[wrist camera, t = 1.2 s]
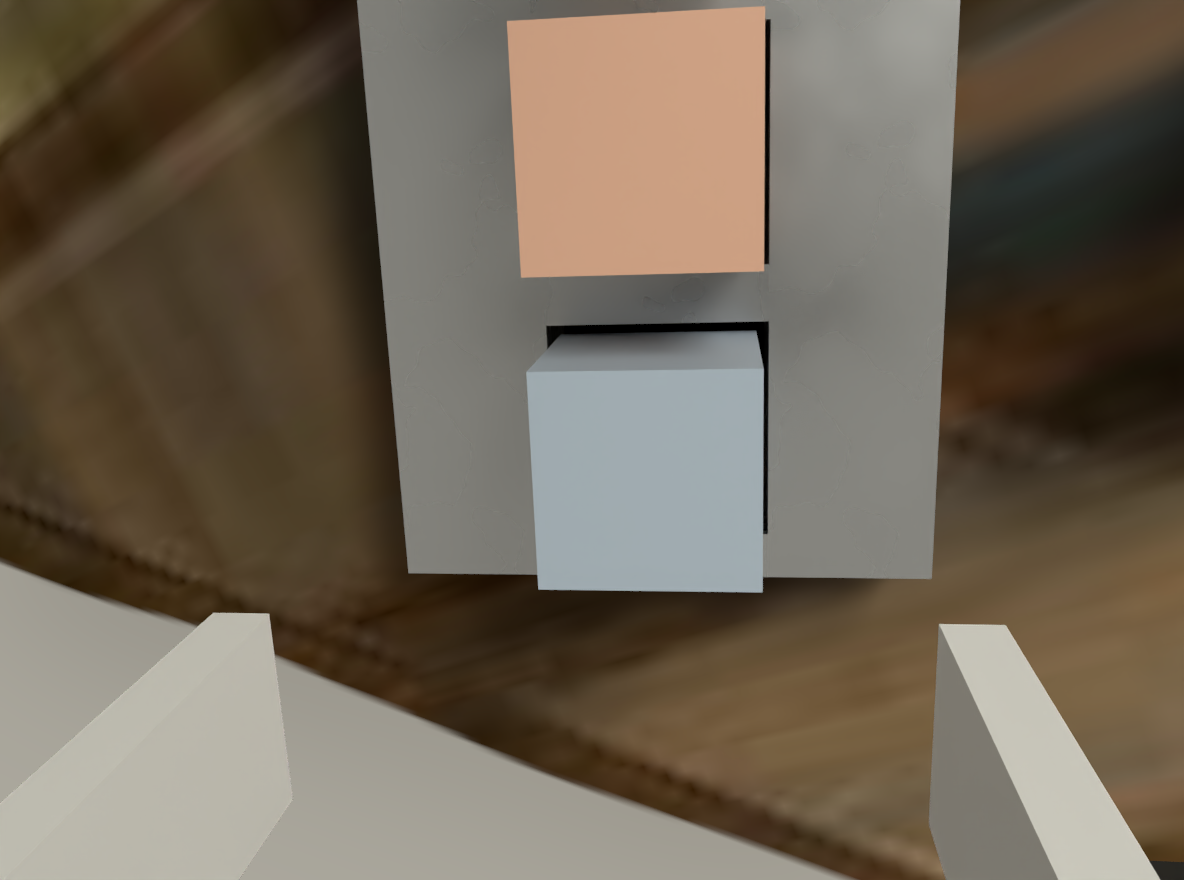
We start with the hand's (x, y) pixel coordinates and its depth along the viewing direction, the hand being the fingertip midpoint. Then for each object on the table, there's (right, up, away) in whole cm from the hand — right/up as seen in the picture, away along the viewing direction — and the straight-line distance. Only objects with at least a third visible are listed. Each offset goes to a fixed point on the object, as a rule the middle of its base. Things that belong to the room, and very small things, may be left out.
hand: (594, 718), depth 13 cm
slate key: (+2, +4, +14) cm, 15 cm away
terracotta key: (+1, +11, +12) cm, 16 cm away
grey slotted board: (+2, +11, +15) cm, 19 cm away
